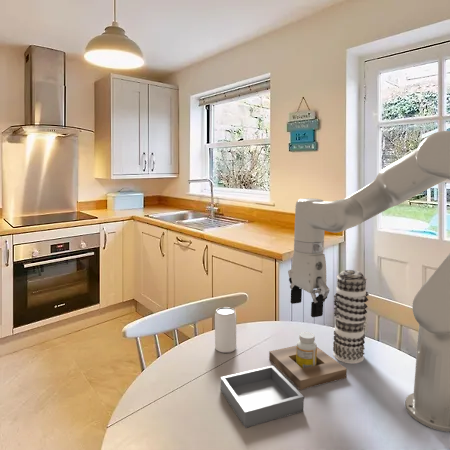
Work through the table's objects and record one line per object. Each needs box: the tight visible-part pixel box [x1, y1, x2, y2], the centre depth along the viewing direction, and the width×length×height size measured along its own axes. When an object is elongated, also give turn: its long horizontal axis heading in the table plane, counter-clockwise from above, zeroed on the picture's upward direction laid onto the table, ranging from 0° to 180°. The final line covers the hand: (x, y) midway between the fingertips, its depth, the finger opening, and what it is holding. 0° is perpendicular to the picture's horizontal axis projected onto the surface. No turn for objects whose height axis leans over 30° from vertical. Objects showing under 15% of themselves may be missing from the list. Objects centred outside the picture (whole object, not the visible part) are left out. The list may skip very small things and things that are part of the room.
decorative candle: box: [332, 269, 369, 364], centre depth 107 cm, size 9×9×25 cm
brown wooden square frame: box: [268, 345, 348, 391], centre depth 102 cm, size 16×14×2 cm
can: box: [214, 306, 237, 354], centre depth 113 cm, size 6×6×12 cm
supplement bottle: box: [296, 331, 318, 369], centre depth 102 cm, size 5×5×10 cm
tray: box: [220, 364, 305, 429], centre depth 88 cm, size 14×14×4 cm
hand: (305, 309), depth 100 cm, fingers open, 9 cm apart
